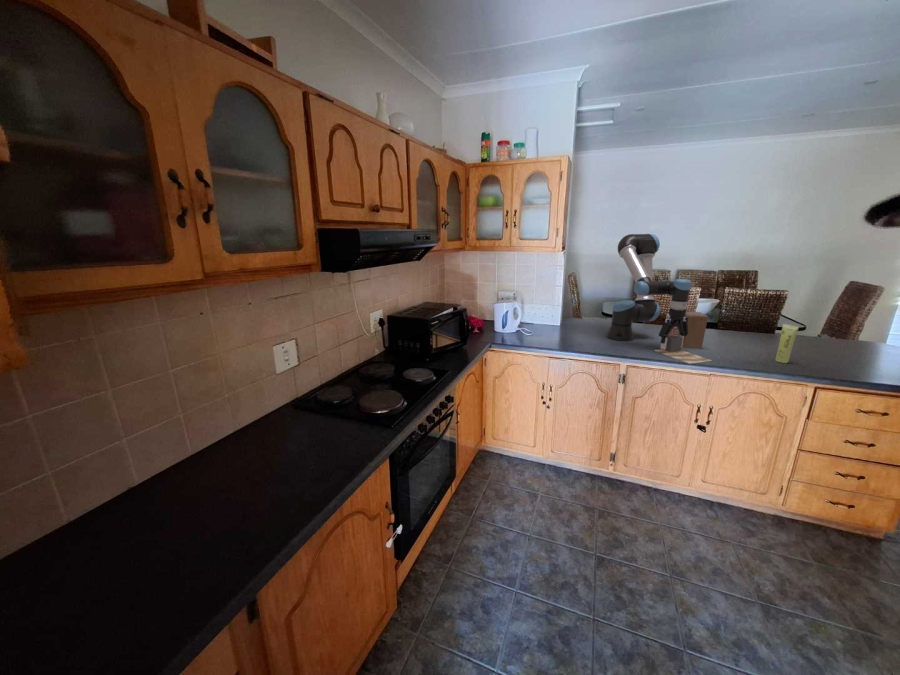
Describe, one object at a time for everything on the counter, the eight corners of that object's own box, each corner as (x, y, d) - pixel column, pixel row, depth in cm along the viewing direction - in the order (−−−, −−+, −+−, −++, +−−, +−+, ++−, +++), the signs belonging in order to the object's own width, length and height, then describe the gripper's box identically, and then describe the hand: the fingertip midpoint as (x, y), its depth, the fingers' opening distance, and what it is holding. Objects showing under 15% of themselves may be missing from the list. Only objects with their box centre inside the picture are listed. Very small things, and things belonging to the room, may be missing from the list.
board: (653, 352, 198) (653, 350, 198) (674, 349, 202) (674, 347, 202) (689, 365, 178) (689, 363, 178) (711, 362, 182) (712, 360, 182)
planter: (687, 333, 234) (691, 314, 230) (688, 338, 223) (691, 318, 219) (664, 330, 241) (667, 312, 237) (662, 335, 230) (666, 316, 226)
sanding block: (660, 350, 198) (663, 336, 196) (670, 348, 200) (673, 335, 198) (670, 353, 192) (672, 339, 190) (680, 352, 194) (682, 338, 192)
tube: (773, 361, 182) (783, 324, 177) (773, 359, 186) (783, 322, 180) (788, 364, 179) (799, 326, 173) (788, 361, 182) (798, 324, 177)
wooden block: (702, 350, 201) (709, 315, 195) (682, 349, 203) (689, 315, 197) (694, 344, 210) (700, 311, 204) (675, 343, 212) (681, 311, 206)
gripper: (666, 311, 183) (660, 352, 189) (701, 308, 189) (693, 347, 195) (655, 308, 190) (648, 347, 196) (688, 305, 196) (681, 343, 202)
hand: (671, 347), depth 196 cm, fingers open, 11 cm apart
